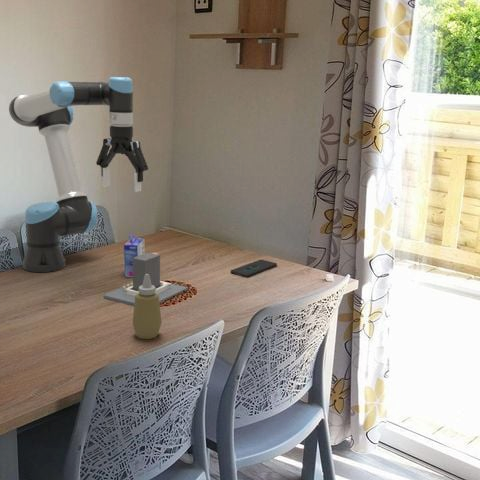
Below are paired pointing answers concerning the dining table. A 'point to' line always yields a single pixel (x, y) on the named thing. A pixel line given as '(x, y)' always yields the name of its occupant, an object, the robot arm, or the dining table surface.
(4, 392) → the dining table surface
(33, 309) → the dining table surface
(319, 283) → the dining table surface
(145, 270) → the keyed plug
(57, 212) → the robot arm
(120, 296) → the socket board
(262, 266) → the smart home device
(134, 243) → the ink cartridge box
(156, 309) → the squeeze bottle
